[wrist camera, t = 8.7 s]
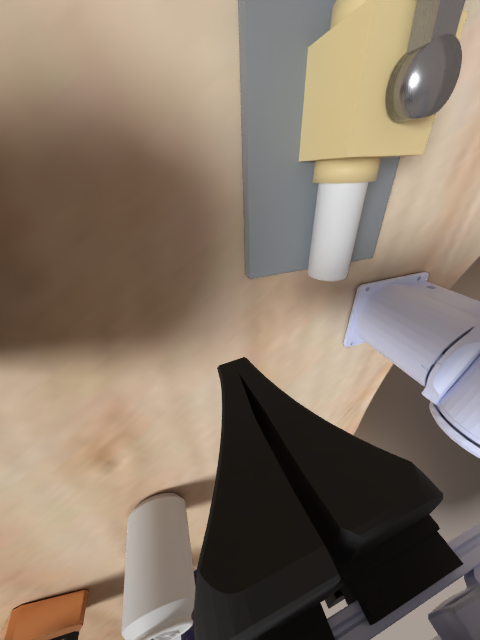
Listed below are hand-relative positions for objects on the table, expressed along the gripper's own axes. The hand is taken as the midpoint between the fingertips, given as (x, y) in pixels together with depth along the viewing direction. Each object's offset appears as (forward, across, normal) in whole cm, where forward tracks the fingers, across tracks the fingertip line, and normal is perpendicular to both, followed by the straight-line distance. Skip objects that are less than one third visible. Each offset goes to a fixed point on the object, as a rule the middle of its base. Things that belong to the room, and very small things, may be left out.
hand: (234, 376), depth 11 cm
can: (+10, +13, +30) cm, 34 cm away
